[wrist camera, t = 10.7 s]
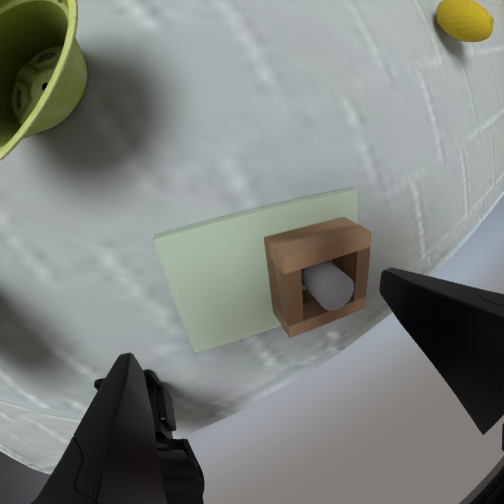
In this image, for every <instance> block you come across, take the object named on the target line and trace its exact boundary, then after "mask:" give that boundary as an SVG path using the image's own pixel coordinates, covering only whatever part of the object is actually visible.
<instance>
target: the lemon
mask: <svg viewBox="0 0 504 504" xmlns="http://www.w3.org/2000/svg"><path fill="white" fill-rule="evenodd" d="M436 21H437V23H438V24H439V25H440V26H441V27H442V28H443V30H444V31H445V32H446V33H448V34H449V35H450V36H452V37H453V38H455V39H457V40H460V41H464V42H479V41H483V40H485V39H487V38H488V37H489V36H490V35H491V33H492V30H493V22H494V20H493V17H492V16H491V15H489V14H488V12H487V11H486V10H485V9H484V8H483V7H482V6H481V5H480V4H478V3H477V2H475V1H473V0H443V1H442V2H441V3H440V4H439V5H438V7H437V20H436Z"/></svg>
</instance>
